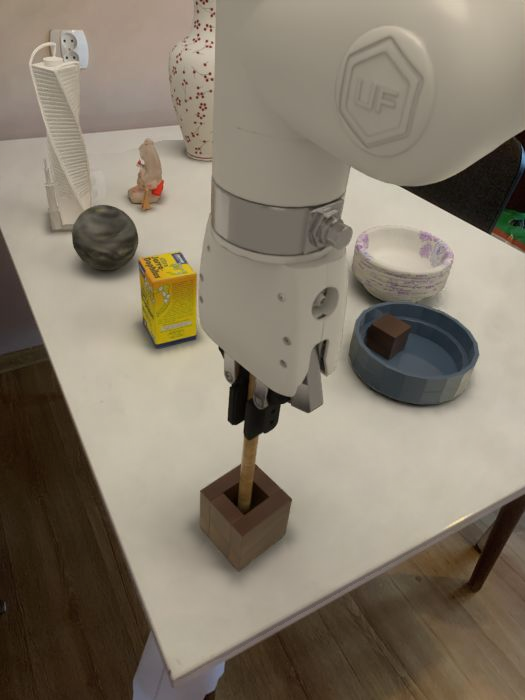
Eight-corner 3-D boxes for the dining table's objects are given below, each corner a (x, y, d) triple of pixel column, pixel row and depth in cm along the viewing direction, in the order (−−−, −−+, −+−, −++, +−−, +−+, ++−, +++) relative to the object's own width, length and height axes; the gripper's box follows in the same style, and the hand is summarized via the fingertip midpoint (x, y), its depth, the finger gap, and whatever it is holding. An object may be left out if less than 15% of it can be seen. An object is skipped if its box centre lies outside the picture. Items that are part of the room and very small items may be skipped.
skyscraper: (52, 210, 100) (21, 39, 82) (97, 208, 102) (77, 41, 84) (51, 232, 94) (18, 53, 76) (100, 229, 96) (78, 54, 78)
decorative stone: (92, 246, 91) (84, 190, 85) (148, 255, 91) (145, 199, 84) (65, 276, 84) (54, 217, 77) (127, 287, 83) (121, 228, 77)
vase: (198, 172, 119) (198, -18, 96) (156, 149, 127) (148, -31, 105) (252, 158, 128) (265, -19, 105) (210, 137, 136) (213, -31, 114)
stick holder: (285, 534, 53) (292, 499, 49) (238, 571, 50) (242, 536, 46) (245, 494, 56) (249, 457, 52) (199, 526, 53) (199, 490, 49)
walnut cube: (404, 348, 76) (411, 326, 73) (388, 360, 74) (395, 338, 71) (381, 334, 78) (387, 312, 75) (364, 346, 76) (370, 323, 73)
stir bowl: (488, 372, 74) (502, 345, 71) (420, 427, 66) (432, 398, 62) (395, 315, 83) (403, 288, 80) (324, 357, 74) (330, 328, 71)
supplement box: (142, 324, 76) (136, 257, 69) (181, 315, 79) (180, 249, 72) (155, 350, 72) (151, 281, 65) (197, 339, 75) (197, 272, 68)
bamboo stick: (252, 511, 51) (269, 372, 39) (242, 518, 50) (257, 379, 39) (243, 503, 52) (258, 364, 40) (234, 510, 51) (246, 370, 39)
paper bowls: (331, 270, 92) (339, 228, 87) (407, 259, 97) (418, 219, 92) (376, 323, 81) (389, 278, 76) (458, 308, 86) (475, 265, 81)
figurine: (126, 190, 109) (131, 129, 102) (160, 195, 111) (167, 135, 104) (127, 209, 102) (133, 144, 95) (163, 213, 104) (171, 150, 97)
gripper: (423, 247, 29) (356, 461, 41) (239, 152, 37) (227, 353, 49) (330, 293, 25) (285, 516, 37) (146, 175, 33) (158, 388, 45)
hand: (252, 422), depth 43 cm, fingers closed on bamboo stick, 1 cm apart
